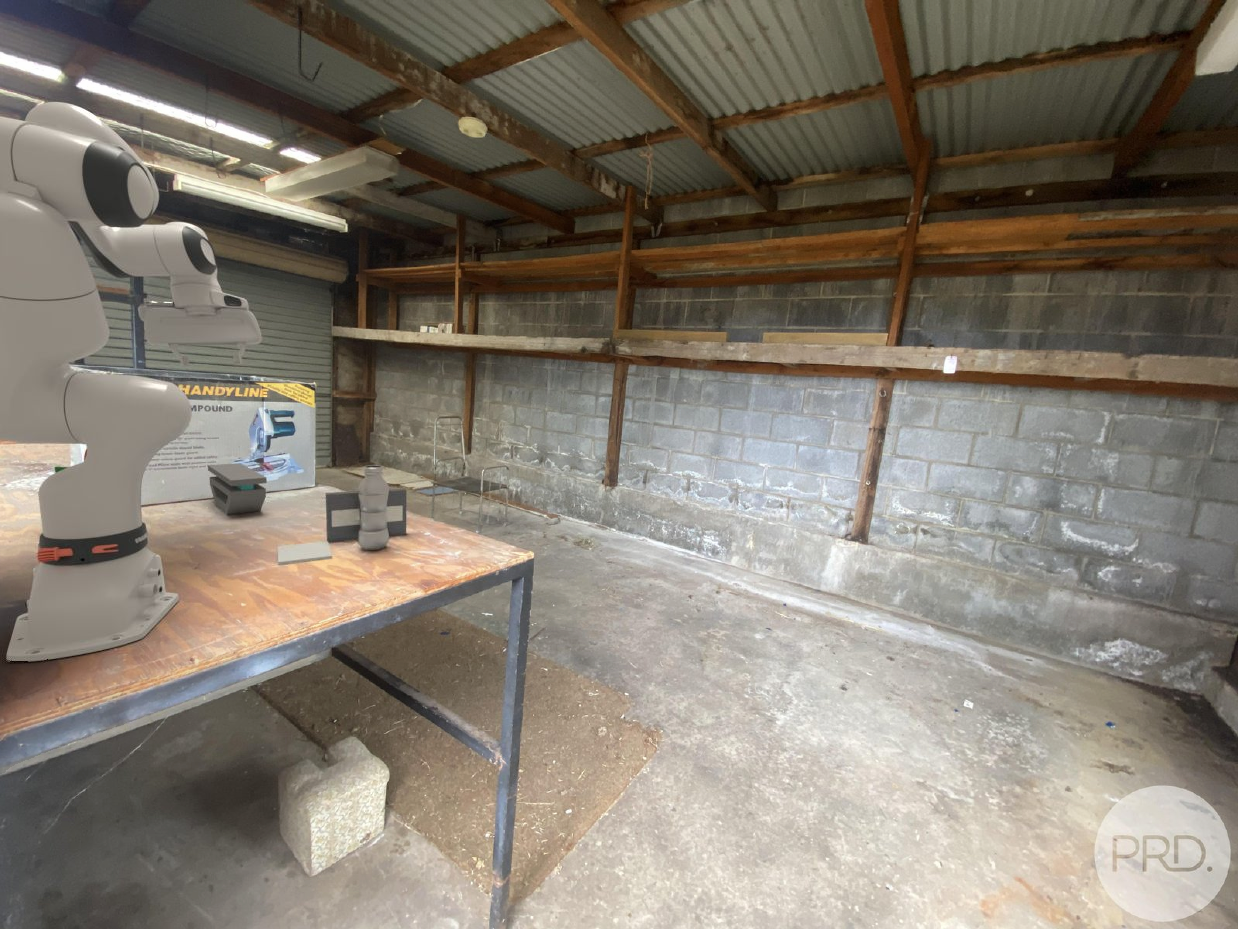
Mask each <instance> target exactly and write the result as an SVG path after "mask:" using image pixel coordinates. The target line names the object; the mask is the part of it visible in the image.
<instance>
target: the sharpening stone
mask: <svg viewBox="0 0 1238 929" xmlns="http://www.w3.org/2000/svg"><path fill="white" fill-rule="evenodd" d="M207 471H208V472H209V473H211V474H212V475H214V476H209V485H210V490H211V493H212V496H213V500H214V504H215V507H216V508H217V509H219V510H220V511H221V512H223V514H225V515H227V516H228V515H229V516H230V515H235V514H245V513H252V512H260V511H261V510H262V507H263V505H264V504H265V500H266V498H267V497H266V496H267V492H266V490H267V488H266V487H264V486H262V485H260V484H267V483H268V482H267V480H268V479H267V477H266V476H264V475H263V474H260V473H259V472H258V471H255V470H253V469H252V468H250V467H247V466H246V465H244V464H243V463H239V462H238V463H225V464H224V463H223V464H209V465H208V464H207Z"/></svg>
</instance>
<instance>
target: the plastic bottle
mask: <svg viewBox="0 0 1238 929" xmlns="http://www.w3.org/2000/svg"><path fill="white" fill-rule="evenodd" d="M363 468H364V471H363V475H365V477H364V478H363V479H362V480H361V482H360V483H359V485H358V488H357V491H358V493H359V500H360V508H361V521H360V530H359V534H358V540H357V543H358V546H359V547H360V548H361V549H363V550H369V551H372V550H379V549H383V548H386V546H387V545H388V543H389V539H390V536H389V533H388V529H387V520H386V509H387V500H388V494H389V493H388V492H389V489H390V487H389V483H387V481H386V480H385V479H384V477H383V476H382V475H383V466H382V465H380V464H379V465H377V464H371V465H370V464H369V465H368V464H367V465H364V467H363Z"/></svg>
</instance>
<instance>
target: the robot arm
mask: <svg viewBox="0 0 1238 929" xmlns="http://www.w3.org/2000/svg"><path fill="white" fill-rule="evenodd" d="M159 200H160V193H159V188H158V185H157V183H156V181H155V179H154V176H153V175H152V173H151V171H150V169H149V168H148V167H147V166H146V164H145V163H144V162H143V161H142V159H141V158H140V156H138V154H137V153H136V152H135V150H133V148H131V146H129V144H128V143H127V142H126V141H125V140H124V139H123V138H122V137H121V136H120V135H119V134H118V133H117V132H115V130H113V129H112V128H111V127H110V125H108V124H106V122H104V121H103V120H101V119H100V118H99V117H98V116H97V115H95V114H93V113H92V112H90V111H88V110H87V109H85V108H83V107H80V106H78V105H75V104H72V103H68V102H62V101H61V102H59V101H48V102H43V103H41V104H38V105H36V106H34V107H33V108H31V109H30V110H29V112H28V113H27V115H26V116H25V119H24V120H21V119H15V118H11V117H6V116H0V441H1V442H2V441H3V442H10V443H11V442H12V443H18V444H41V445H42V444H44V445H45V444H46V445H47V444H48V445H49V444H51V445H52V444H63V445H64V444H65V445H66V444H67V445H70V444H72V445H73V444H75V445H76V444H77V445H79V444H80V445H81V444H82V445H85V446H86V449H87V455H86V458H85V460H84V459H83V462H80V463H77V464H73V465H71V466H67V467H68V468H66V469H63V470H61V471H59V472H57V473H55V472H54V473H53V474H51V475H49V476H48V477H47V478H45V479H44V481H42V483H41V484H40V486H39V489H38V492H37V495H38V496H37V497H38V503H39V512H40V520H41V521H40V522H41V528H42V533H41V534H40V535H39V543H38V545H37V553H36V555H37V561H38V563H39V564H38V565H36V566H35V567H34V568H32V573H33V577H32V578H33V579H32V583H31V590H30V594H29V595H30V596H29V599H27V600H26V601H25V607H26V608H27V612H26V613H22V614H21V615H19V616H17V617H16V619H15V624H14V627H13V631H12V634H11V638H10V641H9V644H8V648H7V652H6V659H7V660H10V661H11V660H12V661H28V662H37V661H45V660H46V661H47V659H48V660H54V659H61V658H66V657H67V658H68V657H72V656H79V655H83V654H89V653H94V652H98V651H103V650H107V649H114V648H116V647H121V646H123V645H127V644H129V643H133V642H136V641H138V640H139V641H140V640H141V639H143V638H145V637H146V635H147V634H148V633H150V632H151V630H153V629H154V627H155V626H156V625H158V623H159V622H161V620H162V619H163V618H164V617H165V616H166V614H167V613H168V612H170V611H171V609H172V608H173V607H174V606H175V605H176V604H177V603H178V602H179V601H180V596H179V594H178V593H177V592H176V593H175V592H168V591H166V585H165V578H164V570H163V564H162V556H161V555H160V554H158V553H155V552H153V551H152V550H151V549H150V548H148V546H147V545H148V544H149V540H148V539H149V538H148V537H149V532H148V529H147V526H146V525H147V524H146V523H145V522H143V516H142V515H143V514H142V513H143V512H142V483H143V479H144V474H145V471H146V469H147V466H148V465H149V463H150V462H151V460H152V459H153V458H154V457H155V455H157V453H158V452H159V451H160V450H161V449H163V448H164V447H165V446H167V445H168V444H170V443H171V442H174V441H175V440H176V439H178V438H179V437H180V436H182V435H183V434H184V433H185V432H186V430H187V429H188V427H189V426H190V424H191V420H192V417H193V416H192V415H193V414H192V412H193V411H192V407H191V406H192V405H191V402H190V400H189V398H188V396H187V395H186V393H185V392H184V391H183V390H182V389H181V388H180V387H179V386H178V385H176V384H175V383H173V382H171V381H165V380H161V379H156V378H151V377H145V376H142V375H141V376H140V375H130V374H112V373H111V374H110V373H96V372H95V373H92V372H80V371H75V370H74V369H72V367H71V366H70V364H69V363H71V362H75V361H78V360H81V359H84V358H87V357H89V356H92V355H93V354H95V353H97V352H99V351H101V349H102V348H104V347H105V345H106V344H107V343H108V341H109V339H110V332H111V331H110V327H109V324H108V320H107V317H106V314H105V311H104V310H105V309H104V307H103V304H102V299H101V297H100V294H99V290H98V287H97V284H96V281H95V277H94V275H93V270H92V269H91V267H90V263H89V262H88V258H87V257H86V255H85V252H84V250H83V248H82V246H81V244H80V241H79V240H78V238H77V236H78V237H79V238H80V240H81V241H82V242H83V243H84V245H85V246H86V247H87V249H88V251H89V253H90V256H91V257H92V259H93V260H94V262H95V263H96V265H97V267H99V268H100V269H101V270H102V271H104V272H106V273H107V274H108V275H111V276H113V277H115V278H117V279H131V278H140V277H170V278H169V279H170V284H169V287H170V289H169V290H170V292H171V296H172V301H153V300H152V301H150V300H147V301H145V302H144V303H143V302H142V303H140V304H139V306H138V307H137V312H138V317H139V319H140V320H141V321H142V322H143V323H144V324H143V326H144V333H145V334H144V335H145V339H146V342H147V343H148V344H149V345H151V346H152V347H170V351H171V352H172V353H173V354H174V355H175V356H176V357H177V358H178V359H179V362H180V366H181V367H189V366H190V361H189V357H188V356H183V355H182V354H181V353H180V352H179V351H180V347H179V346H181V347H182V346H185V347H186V346H187V347H188V346H189V347H190V346H191V347H192V346H236V347H237V350H239V351H238V354H237V355H232V356H233V357H232V358H233V363H234V365H243V364H244V363H243V358H242V357H243V354H244V353H245V350H246V345H249V346H250V345H259V344H261V342H262V341H263V337H262V331H261V328H260V326H259V323H258V319H257V318H256V316H255V315H254V313H253V312H252V311H251V310H249V309H250V305H249V302H248V300H247V299H245V298H243V297H239V296H236V295H234V294H229V293H226V292H223V291H222V288H221V285H220V283H219V281H218V277H217V276H218V264H217V259H216V258H217V257H216V255H215V250H214V247H213V245H212V244H211V242H210V240H209V238H208V236H207V234H206V232H205V231H204V230H203V229H202V228H200V227H199V226H197V225H194V224H192V223H189V222H184V221H170V222H167V223H165V224H145V223H147V221H149V219H150V218H151V216H152V215H153V214H154V212H155V211H156V210H157V208H158V205H159ZM73 230H74V231H75V232H74V231H73ZM75 233H76V234H77V236H76V234H75ZM7 660H6V661H7ZM10 661H9V662H10Z"/></svg>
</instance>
